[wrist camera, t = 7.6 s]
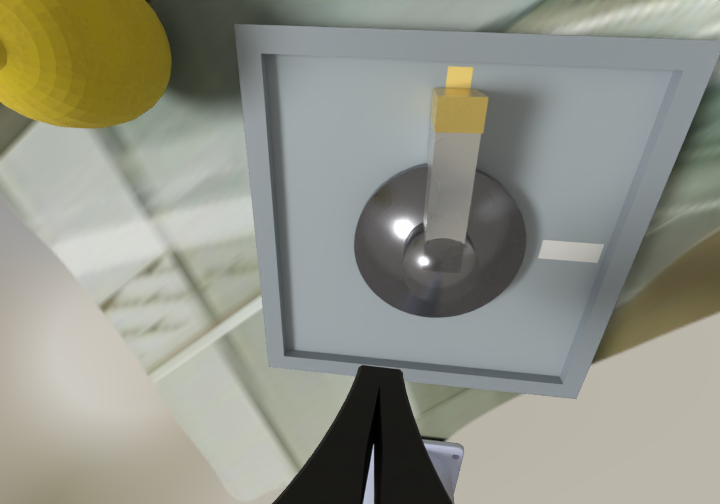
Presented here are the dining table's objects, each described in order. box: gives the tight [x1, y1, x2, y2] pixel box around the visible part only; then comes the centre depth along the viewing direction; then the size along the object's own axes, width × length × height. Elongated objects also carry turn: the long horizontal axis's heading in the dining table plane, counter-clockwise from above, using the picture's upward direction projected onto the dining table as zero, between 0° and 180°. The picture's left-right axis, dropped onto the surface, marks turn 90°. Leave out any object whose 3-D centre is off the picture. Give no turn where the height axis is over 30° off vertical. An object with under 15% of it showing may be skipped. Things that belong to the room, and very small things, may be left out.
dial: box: [354, 88, 526, 318], centre depth 17 cm, size 11×8×3 cm
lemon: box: [0, 0, 172, 128], centre depth 14 cm, size 6×6×8 cm
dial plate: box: [234, 24, 720, 399], centre depth 20 cm, size 18×18×2 cm
